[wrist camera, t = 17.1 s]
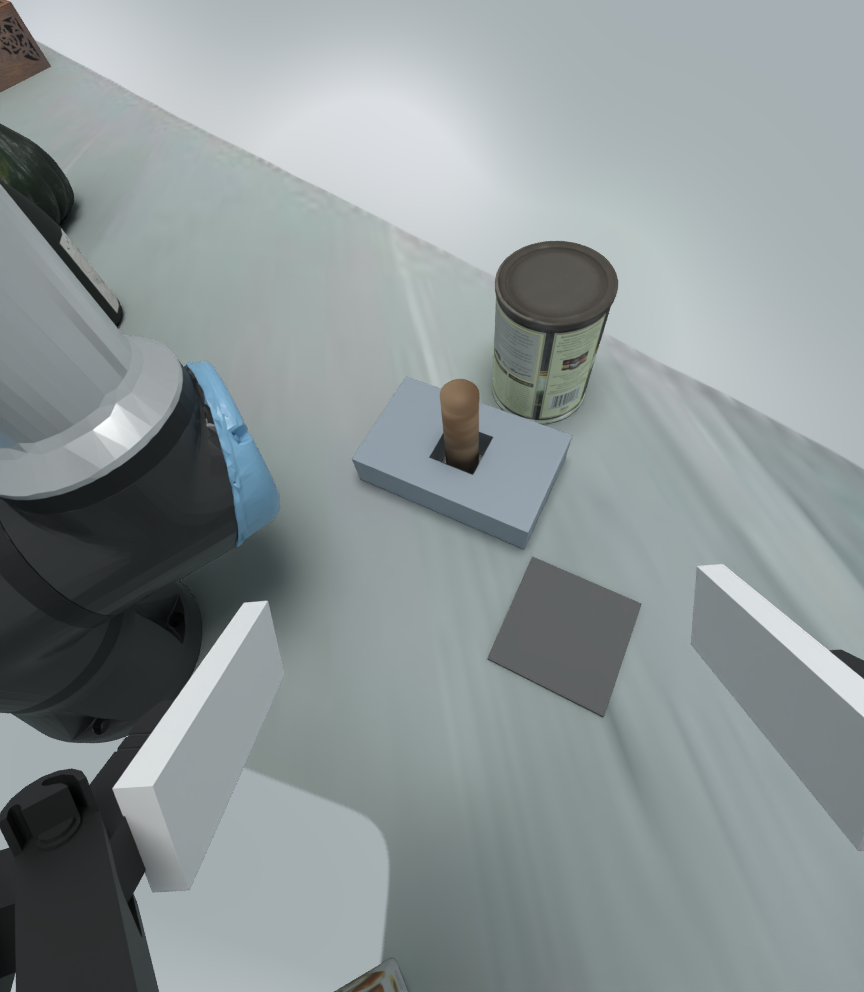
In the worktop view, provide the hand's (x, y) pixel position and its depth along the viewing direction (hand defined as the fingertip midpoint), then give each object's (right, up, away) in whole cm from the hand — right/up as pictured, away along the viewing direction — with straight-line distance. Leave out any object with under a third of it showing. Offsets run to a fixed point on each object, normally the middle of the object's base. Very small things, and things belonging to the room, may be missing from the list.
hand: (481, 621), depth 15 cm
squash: (-61, +45, +61) cm, 97 cm away
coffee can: (+10, +16, +40) cm, 44 cm away
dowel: (+2, +7, +36) cm, 36 cm away
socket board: (+2, +7, +36) cm, 36 cm away
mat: (+10, -8, +28) cm, 30 cm away
